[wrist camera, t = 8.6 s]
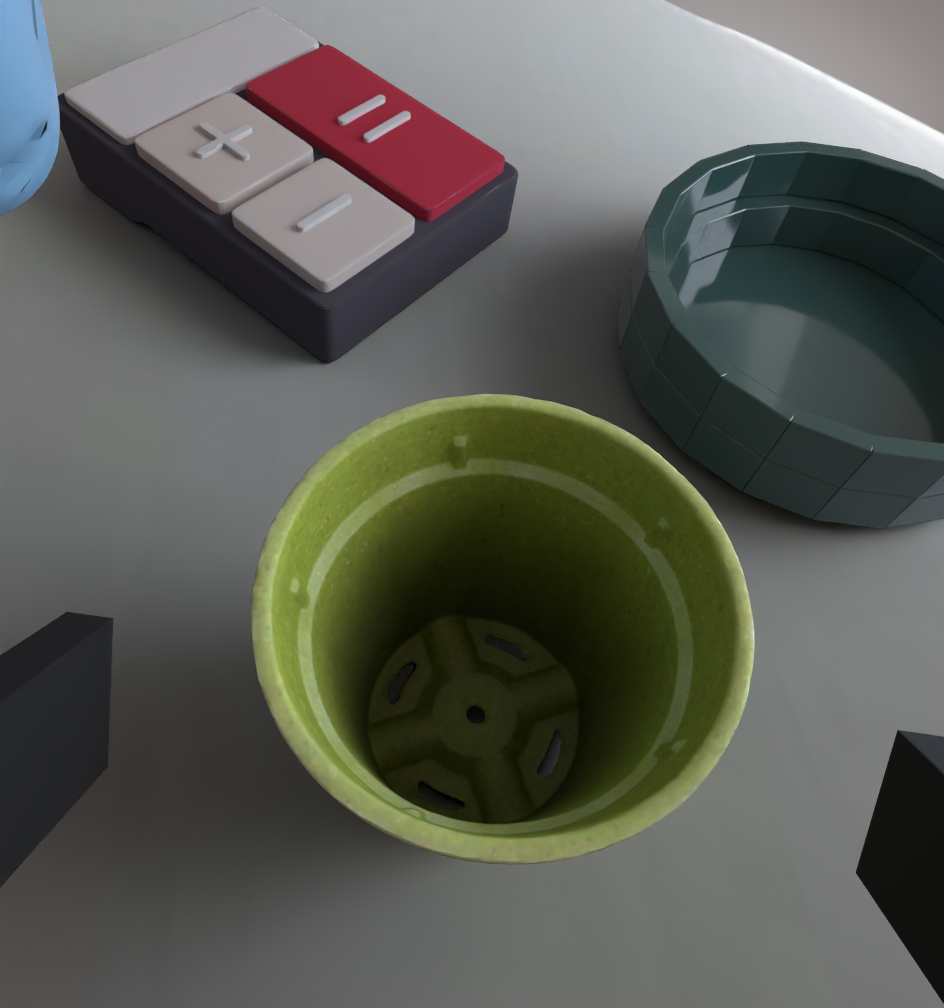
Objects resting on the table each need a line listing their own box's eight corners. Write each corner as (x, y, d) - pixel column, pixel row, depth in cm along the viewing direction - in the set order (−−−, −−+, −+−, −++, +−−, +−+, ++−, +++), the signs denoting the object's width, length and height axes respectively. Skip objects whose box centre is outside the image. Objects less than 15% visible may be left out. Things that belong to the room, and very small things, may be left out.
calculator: (323, 294, 25) (36, 79, 28) (328, 378, 28) (74, 178, 32) (527, 153, 30) (261, -14, 33) (509, 241, 33) (271, 81, 37)
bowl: (535, 362, 29) (555, 269, 25) (739, 190, 36) (780, 96, 32) (906, 622, 24) (1000, 557, 20) (1060, 367, 31) (1152, 282, 27)
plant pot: (236, 810, 20) (137, 714, 12) (394, 527, 25) (390, 336, 17) (573, 973, 18) (687, 974, 11) (670, 640, 23) (794, 486, 16)
